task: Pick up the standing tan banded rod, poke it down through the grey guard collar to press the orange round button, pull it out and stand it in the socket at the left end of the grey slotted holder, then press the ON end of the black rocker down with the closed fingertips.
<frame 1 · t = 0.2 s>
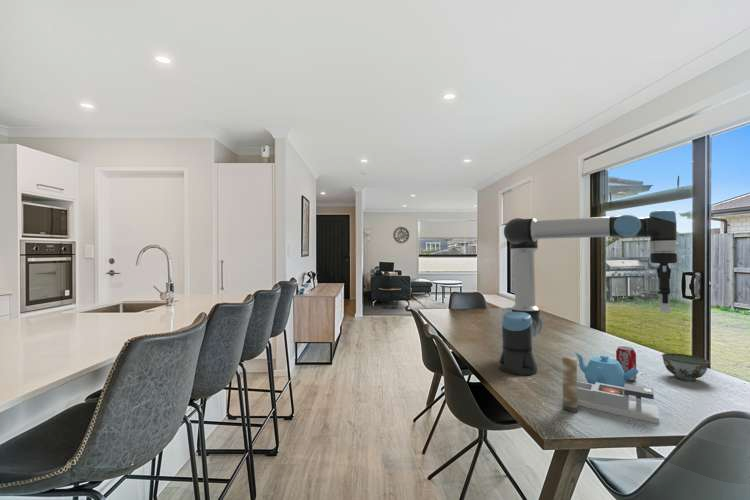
hand: (664, 310, 126), 28 cm above the table, fingers open, 13 cm apart
grey slotted holder: (611, 406, 109), on the table
rocker: (638, 390, 105), point 7 cm above the table, hinge at 0.0°
beverage can: (626, 379, 133), on the table
bowl: (685, 379, 133), on the table
teapot: (604, 387, 125), on the table
tan banded rod: (570, 409, 107), on the table
orange round button: (610, 393, 109), point 4 cm above the table, slide at 0.0 cm
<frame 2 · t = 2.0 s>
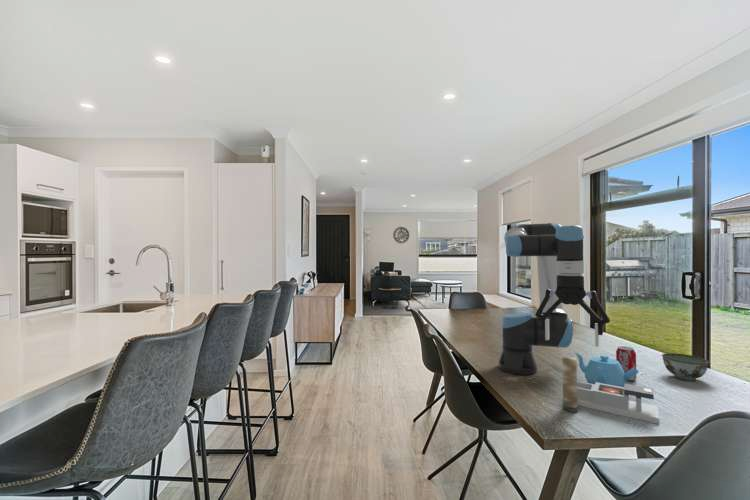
hand: (571, 342, 108), 21 cm above the table, fingers open, 13 cm apart
nothing on the table moved.
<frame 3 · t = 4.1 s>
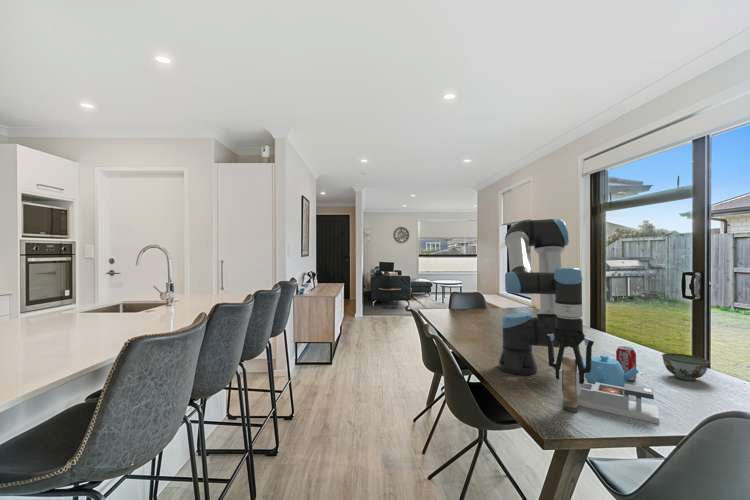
hand: (569, 391, 107), 6 cm above the table, fingers closed on tan banded rod, 4 cm apart
tan banded rod: (570, 409, 107), on the table, touching gripper
everything else where it was.
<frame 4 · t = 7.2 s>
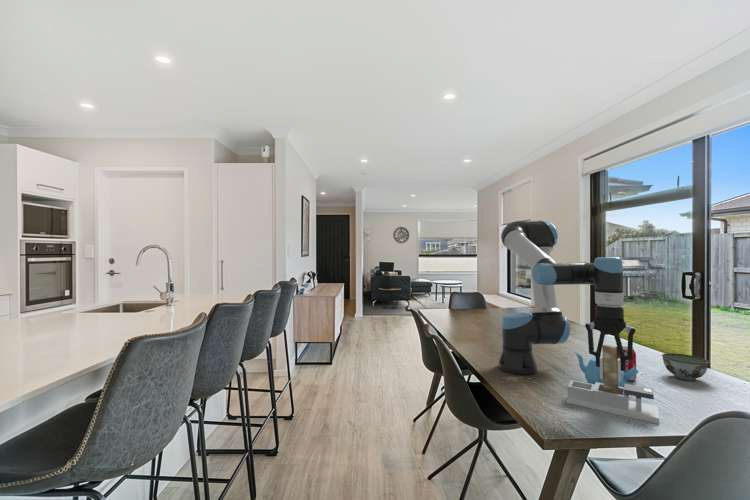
hand: (610, 378, 109), 9 cm above the table, fingers closed on tan banded rod, 4 cm apart
tan banded rod: (611, 396, 109), point 3 cm above the table, touching gripper, orange round button
orange round button: (611, 399, 109), point 2 cm above the table, slide at -1.9 cm, touching tan banded rod
everything else where it was.
when the fingers open (9 cm above the table, at t = 10.1 s): tan banded rod drops 2 cm, resting on grey slotted holder.
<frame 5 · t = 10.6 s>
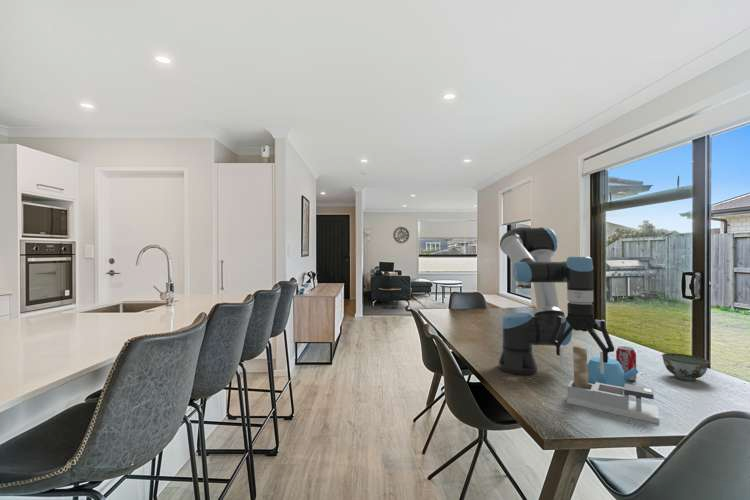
hand: (581, 368, 114), 10 cm above the table, fingers open, 11 cm apart
tan banded rod: (581, 395, 114), point 2 cm above the table, touching grey slotted holder
orange round button: (611, 399, 109), point 2 cm above the table, slide at -1.9 cm
everything else where it was.
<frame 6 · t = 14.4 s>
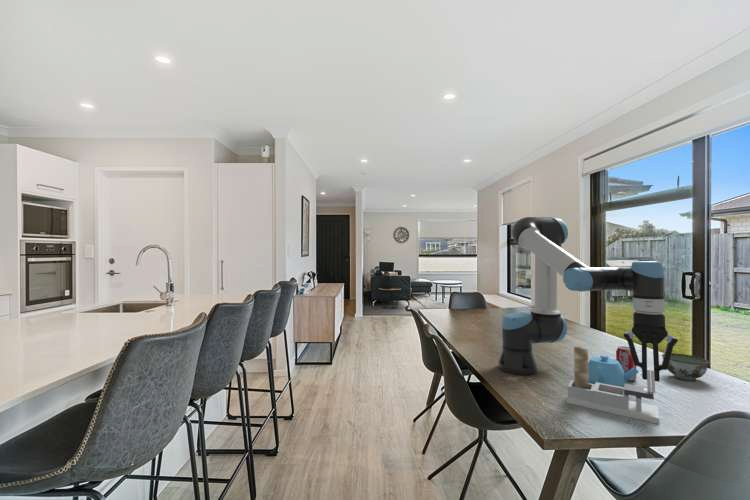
hand: (651, 391, 103), 7 cm above the table, fingers closed
rocker: (638, 390, 105), point 7 cm above the table, hinge at 0.0°, touching gripper
everything else where it was.
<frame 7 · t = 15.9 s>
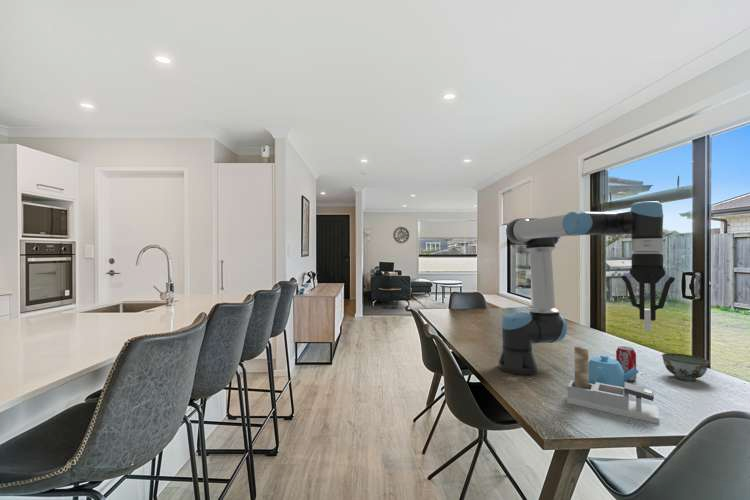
hand: (647, 330, 104), 25 cm above the table, fingers closed
rocker: (638, 390, 105), point 7 cm above the table, hinge at 7.8°
everything else where it was.
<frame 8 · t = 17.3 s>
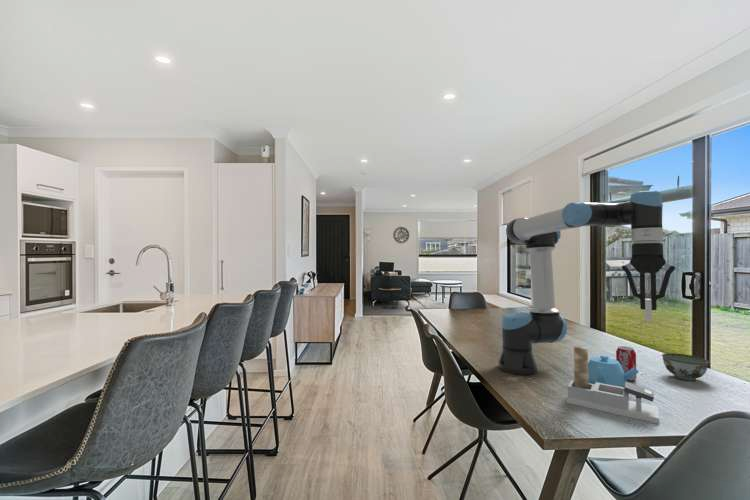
hand: (648, 320, 103), 28 cm above the table, fingers closed
rocker: (638, 390, 105), point 7 cm above the table, hinge at 11.6°
everything else where it was.
at the end: orange round button slide at -1.9 cm; rocker tilted 12°; tan banded rod 0.1 cm from the target spot on the grey slotted holder, point 1.5 cm above the grey slotted holder's base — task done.
